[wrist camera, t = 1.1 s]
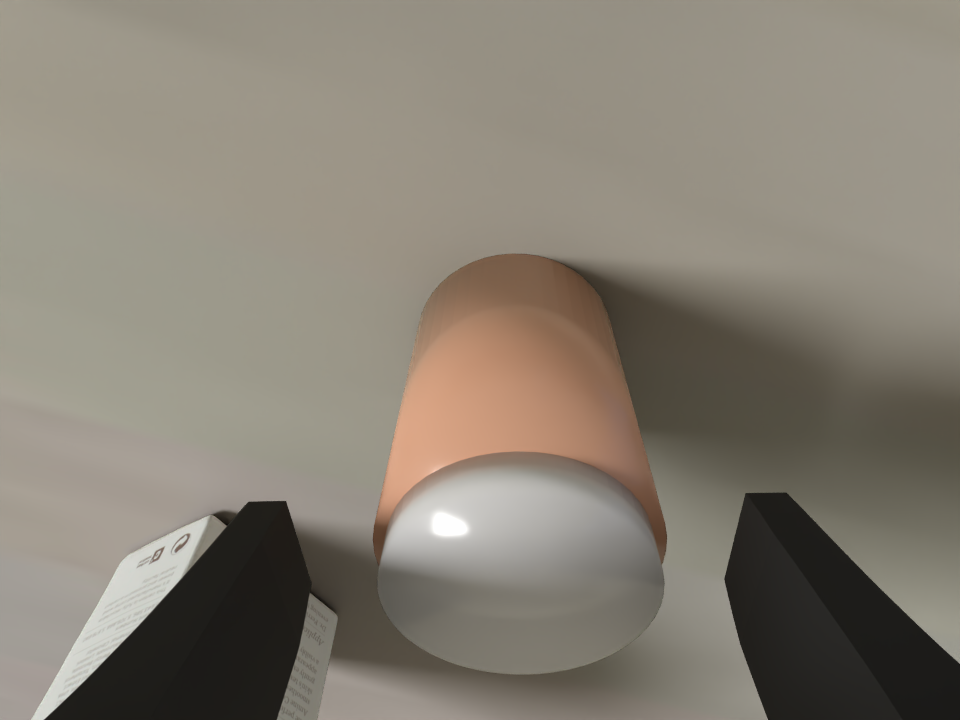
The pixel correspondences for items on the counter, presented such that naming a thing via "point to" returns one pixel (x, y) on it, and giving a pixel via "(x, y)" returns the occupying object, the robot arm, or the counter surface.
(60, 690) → the skincare box
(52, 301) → the counter surface
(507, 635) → the salt shaker
